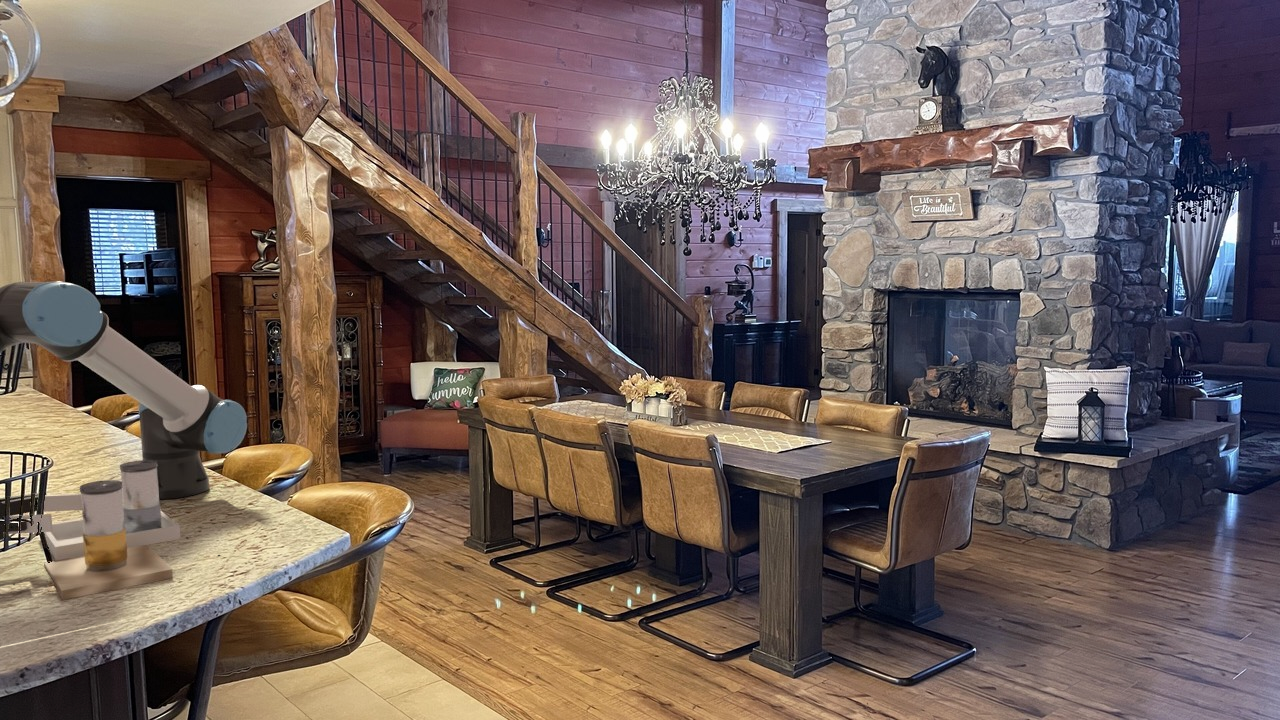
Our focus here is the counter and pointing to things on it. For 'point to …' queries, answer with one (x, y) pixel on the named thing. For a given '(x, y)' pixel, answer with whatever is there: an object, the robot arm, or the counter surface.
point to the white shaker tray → (70, 533)
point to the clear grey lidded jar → (140, 496)
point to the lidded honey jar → (103, 525)
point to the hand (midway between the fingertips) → (69, 511)
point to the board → (107, 573)
